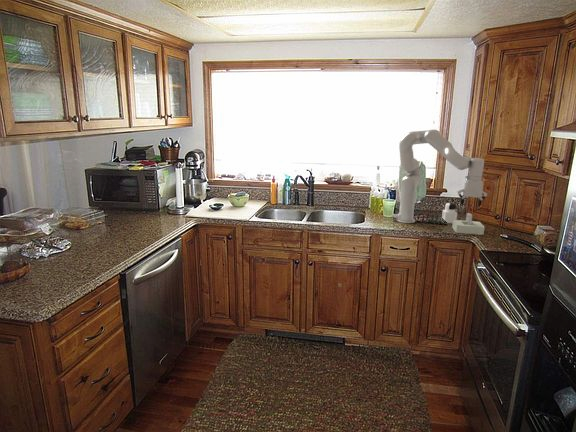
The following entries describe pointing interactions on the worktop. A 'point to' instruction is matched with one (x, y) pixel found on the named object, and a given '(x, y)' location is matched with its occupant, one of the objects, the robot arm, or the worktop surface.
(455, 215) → the container
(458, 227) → the well block
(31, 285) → the worktop surface
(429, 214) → the worktop surface
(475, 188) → the robot arm
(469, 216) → the bracket
